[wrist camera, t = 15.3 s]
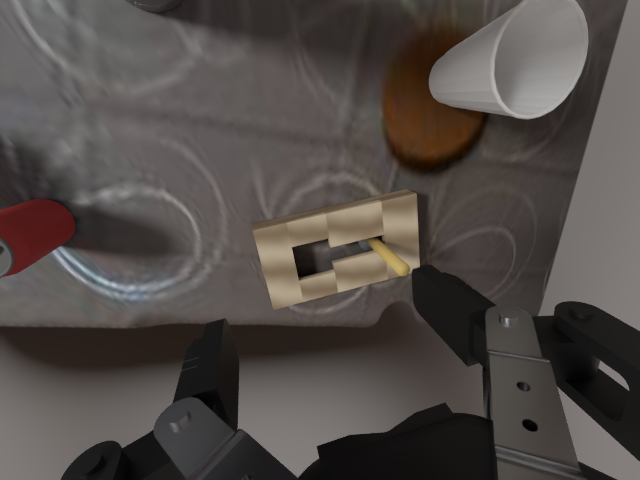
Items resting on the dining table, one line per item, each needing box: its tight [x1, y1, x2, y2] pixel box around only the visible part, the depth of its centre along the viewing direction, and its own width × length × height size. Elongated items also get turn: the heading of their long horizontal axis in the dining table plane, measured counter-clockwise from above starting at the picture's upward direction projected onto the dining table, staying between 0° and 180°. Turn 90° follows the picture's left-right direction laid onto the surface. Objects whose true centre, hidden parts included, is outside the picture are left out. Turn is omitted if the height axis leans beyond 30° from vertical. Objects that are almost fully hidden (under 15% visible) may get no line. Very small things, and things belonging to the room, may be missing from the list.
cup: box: [429, 0, 588, 119], centre depth 39 cm, size 12×12×16 cm
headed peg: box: [357, 235, 410, 276], centre depth 47 cm, size 4×4×13 cm
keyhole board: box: [252, 189, 420, 310], centre depth 51 cm, size 14×26×3 cm, turn 100°
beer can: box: [0, 199, 75, 278], centre depth 36 cm, size 7×7×12 cm
